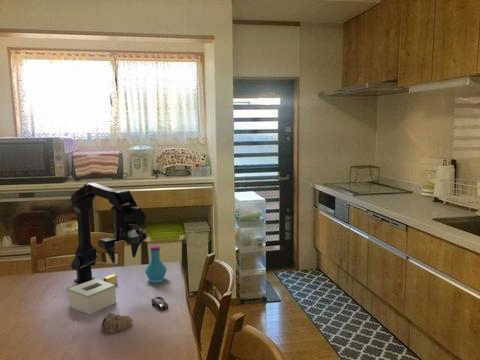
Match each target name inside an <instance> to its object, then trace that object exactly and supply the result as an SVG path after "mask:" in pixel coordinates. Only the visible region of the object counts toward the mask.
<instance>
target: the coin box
mask: <svg viewBox="0 0 480 360" xmlns="http://www.w3.org/2000/svg"><path fill="white" fill-rule="evenodd" d="M116 289H117V288H116V285H114V284H111V283H108V282H105V281H104V280H101V279H98V278H95V279H93V280H90V281H88V282H85V283H82V284H81V283H79V284H77V285H75V286H71V287H70V288H68V289H67V290H68V291H67V293H68V303H69V304H68V306H69V307H70V308H73V309H75V310H77V311H80V312H82V313H85V314H87V315H91V314H94V313H96V312H98V311H100V310H102V309H105V308H107V307H109V306H111V305H114V304H115V303H117V291H116Z"/></svg>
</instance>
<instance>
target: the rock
mask: <svg viewBox="0 0 480 360" xmlns="http://www.w3.org/2000/svg"><path fill="white" fill-rule="evenodd" d="M133 321H134V319H133V318H132V317H131V316H130V315H124V316H123V315H120V314H116V313H111V312H108V314H107V315H105V316H104V318H103V320H102V322H101V327H100V331H103V332H104V333H108V334H109V335H111V334H114V333H117V332H119V331H123V330H124V329H126V328H128V327H131V326H132V325H133Z"/></svg>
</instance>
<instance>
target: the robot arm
mask: <svg viewBox="0 0 480 360" xmlns="http://www.w3.org/2000/svg"><path fill="white" fill-rule="evenodd" d="M95 197H99V198H103V199H104V200H107V201H108V203H109V204H110V205H112V207H111V208H110V210H111V211H113V212H114V224H112V227H113V228H114V234H113V238H110V237H105V238H100V239H98V242H97V247H99V248H101V249H103V250H105V252H106V253H107V255H108V258H109V259H110V261H111V263H112V264H115V263H116V256H115V251H116V248H117V247H115V246H116V244H119V243H124V242H125V243H126V244H127V245H128V246H129V245H130V249H131V255H132V258H136V256H137V253H138V250H139V247H140V245H141V244H142V243H143V242H145V240H147V238H148V237H147V233H146V232H145V231H143V229H142V228H138V229H133V225H134V226H143V225H144V224H145V221H146V219H147V217H146V213H145V211H143V210H142V207H140V206H139V207H138V204H137V202H136V201H135V199H134V197H133V195H132V193H131V190H129V189H122V188H121V189H115V188H111V187H107V186H104V185H102V184H98V182H88V183H85V184H84V185H83V186H82V187H81V188H79V189H78V190H76V191H74V192H73V193H72V194H71V196H70V202H71V207H72V208H73V210H74V211H75V212H76V221H77V222H76V225H77V238H78V246H77V247H76V250H75V252H74V254H75V256H74V259H73V260H72V262H71V263H70V266H71V269H72V270H74V271H76V278H75V279H73V282H75V283H78V284H82V283H85V282H88V281H90V280H93V279H96V278H95V277H93V273H92V266H96V261H97V258H98V254H97V252H98V251H97V250H98V249H97V248H95V247H94V246H93V245H92V238H91V237H92V236H91V221H90V211H91V209H92V207H93V205H94V204H93V201H94V199H95Z"/></svg>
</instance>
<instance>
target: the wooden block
mask: <svg viewBox="0 0 480 360" xmlns="http://www.w3.org/2000/svg"><path fill="white" fill-rule="evenodd" d="M103 281H105V282H108V283H111V284H114V285H115V286H116V285H118V275H117V274H116V273H115V274H114V273H112V274H109V275H107V276H106V275H105V276H104V277H103Z"/></svg>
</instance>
